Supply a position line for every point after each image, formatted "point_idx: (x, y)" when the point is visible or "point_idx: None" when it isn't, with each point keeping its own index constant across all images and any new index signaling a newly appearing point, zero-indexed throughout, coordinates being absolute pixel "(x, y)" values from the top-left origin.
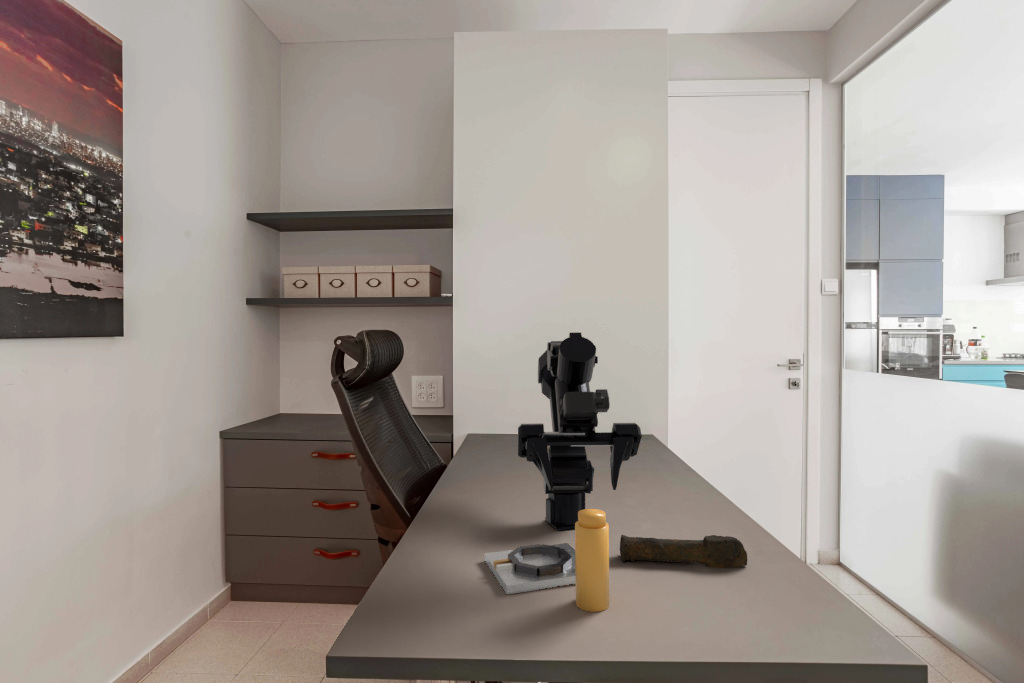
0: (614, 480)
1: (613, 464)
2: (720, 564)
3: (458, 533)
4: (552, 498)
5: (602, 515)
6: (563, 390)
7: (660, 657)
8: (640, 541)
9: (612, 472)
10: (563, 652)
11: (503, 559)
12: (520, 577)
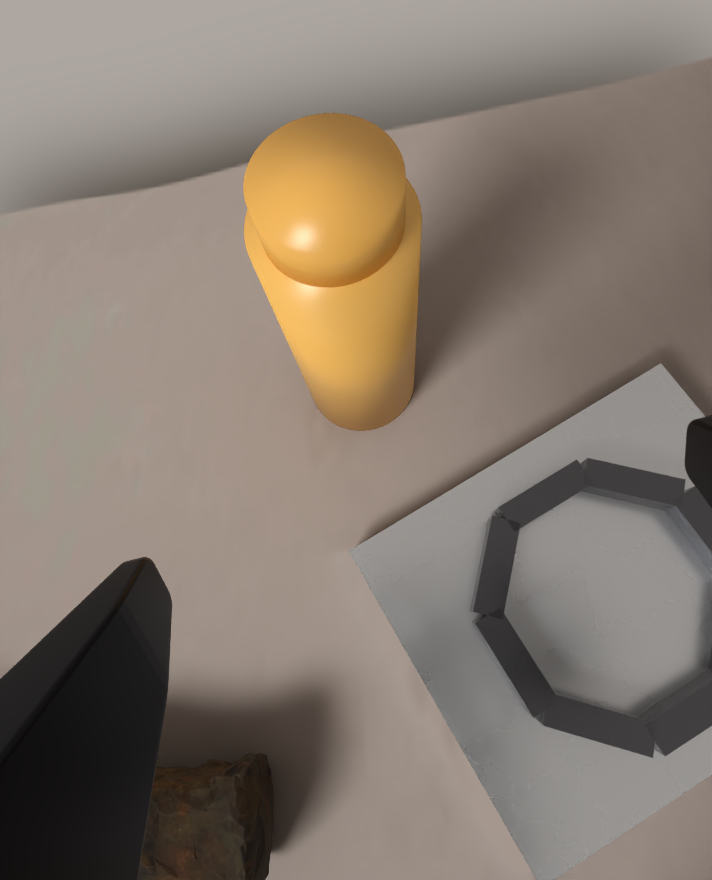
0: (120, 584)
1: (30, 721)
2: None
3: None
4: None
5: (261, 157)
6: None
7: (190, 179)
8: (155, 811)
9: (103, 697)
10: (406, 144)
11: None
12: (636, 437)
